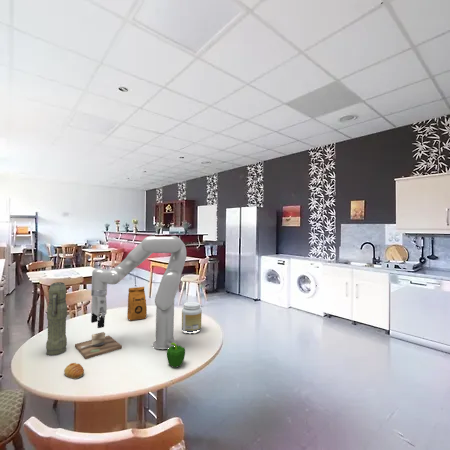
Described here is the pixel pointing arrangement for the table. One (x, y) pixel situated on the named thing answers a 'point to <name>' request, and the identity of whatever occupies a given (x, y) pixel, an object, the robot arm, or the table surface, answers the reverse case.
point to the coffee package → (136, 304)
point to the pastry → (74, 371)
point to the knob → (97, 340)
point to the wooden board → (96, 351)
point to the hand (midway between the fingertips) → (97, 324)
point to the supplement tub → (191, 316)
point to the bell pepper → (175, 355)
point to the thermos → (56, 319)
